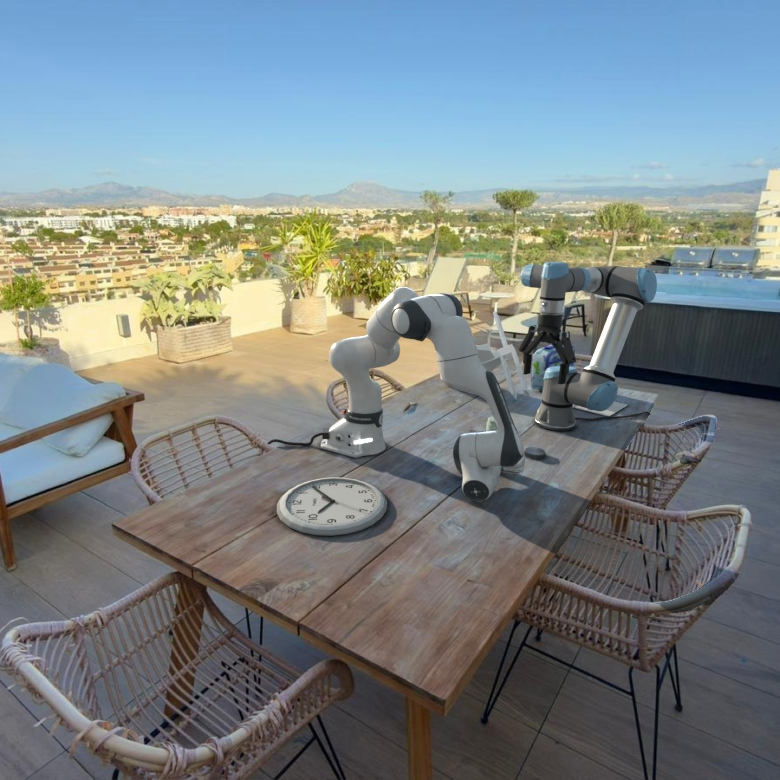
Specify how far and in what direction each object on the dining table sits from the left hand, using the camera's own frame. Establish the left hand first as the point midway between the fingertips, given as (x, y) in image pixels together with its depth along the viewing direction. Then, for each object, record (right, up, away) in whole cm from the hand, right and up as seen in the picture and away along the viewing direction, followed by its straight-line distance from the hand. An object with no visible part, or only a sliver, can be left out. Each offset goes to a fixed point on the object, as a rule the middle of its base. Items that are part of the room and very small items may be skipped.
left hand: (494, 449), depth 165 cm
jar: (0, -6, +2) cm, 6 cm away
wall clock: (-49, -13, -22) cm, 55 cm away
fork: (-25, +12, +57) cm, 63 cm away
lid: (+16, -2, +12) cm, 20 cm away
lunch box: (+45, +20, +87) cm, 100 cm away
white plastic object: (+9, +18, +78) cm, 81 cm away
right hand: (+17, +22, +4) cm, 28 cm away
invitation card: (+59, +11, +61) cm, 86 cm away
